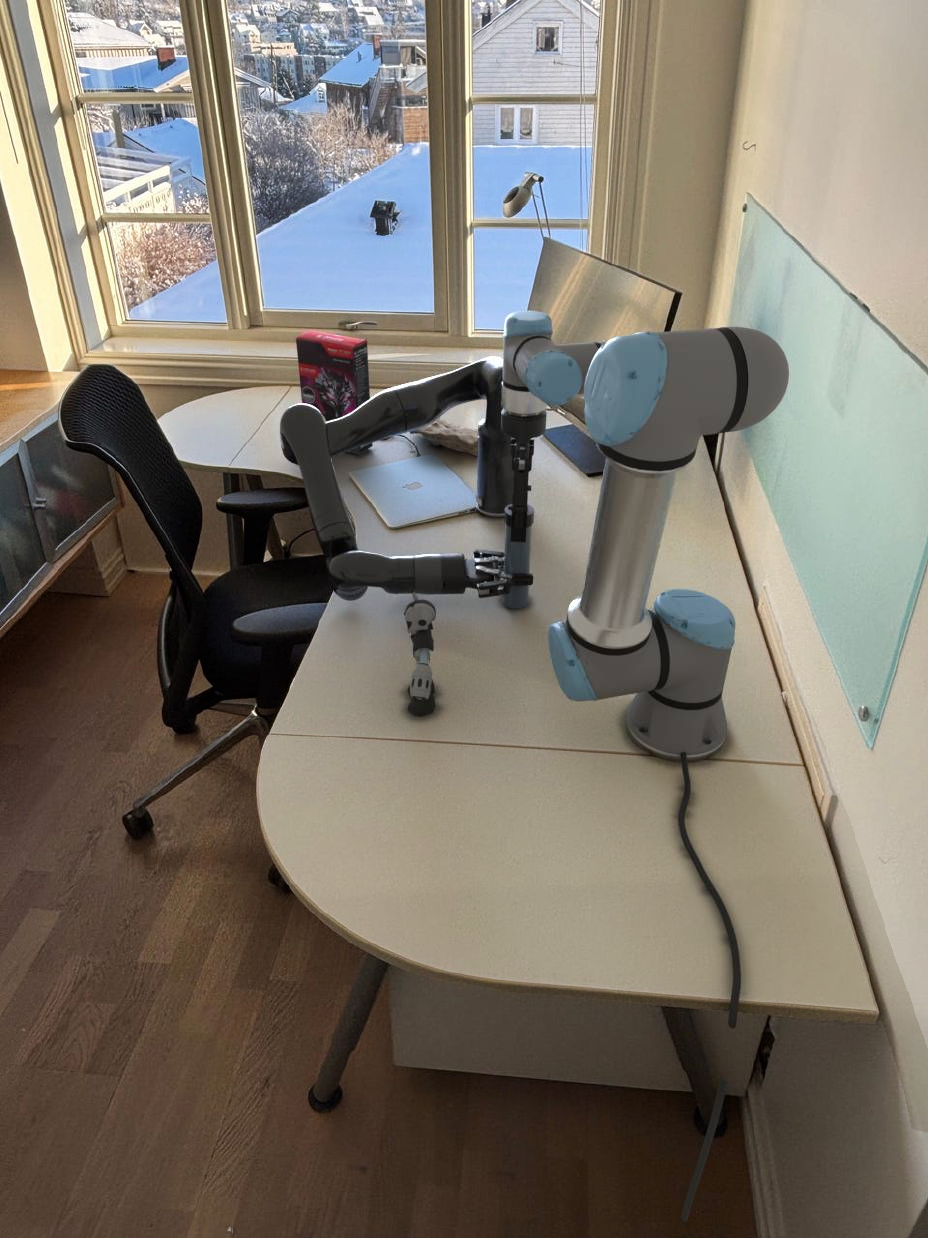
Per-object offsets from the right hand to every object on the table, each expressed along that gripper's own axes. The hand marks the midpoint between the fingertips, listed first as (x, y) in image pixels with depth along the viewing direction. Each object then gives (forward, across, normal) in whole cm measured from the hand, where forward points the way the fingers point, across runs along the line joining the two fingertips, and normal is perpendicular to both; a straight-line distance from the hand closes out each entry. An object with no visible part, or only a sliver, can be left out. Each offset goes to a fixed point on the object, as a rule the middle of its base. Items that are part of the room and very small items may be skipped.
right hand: (518, 532), depth 165 cm
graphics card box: (+15, +69, +46) cm, 85 cm away
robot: (+15, -31, +14) cm, 37 cm away
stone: (+15, +72, +19) cm, 76 cm away
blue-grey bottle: (+15, 0, 0) cm, 15 cm away
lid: (-4, 0, 0) cm, 4 cm away
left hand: (+8, 0, -3) cm, 9 cm away
